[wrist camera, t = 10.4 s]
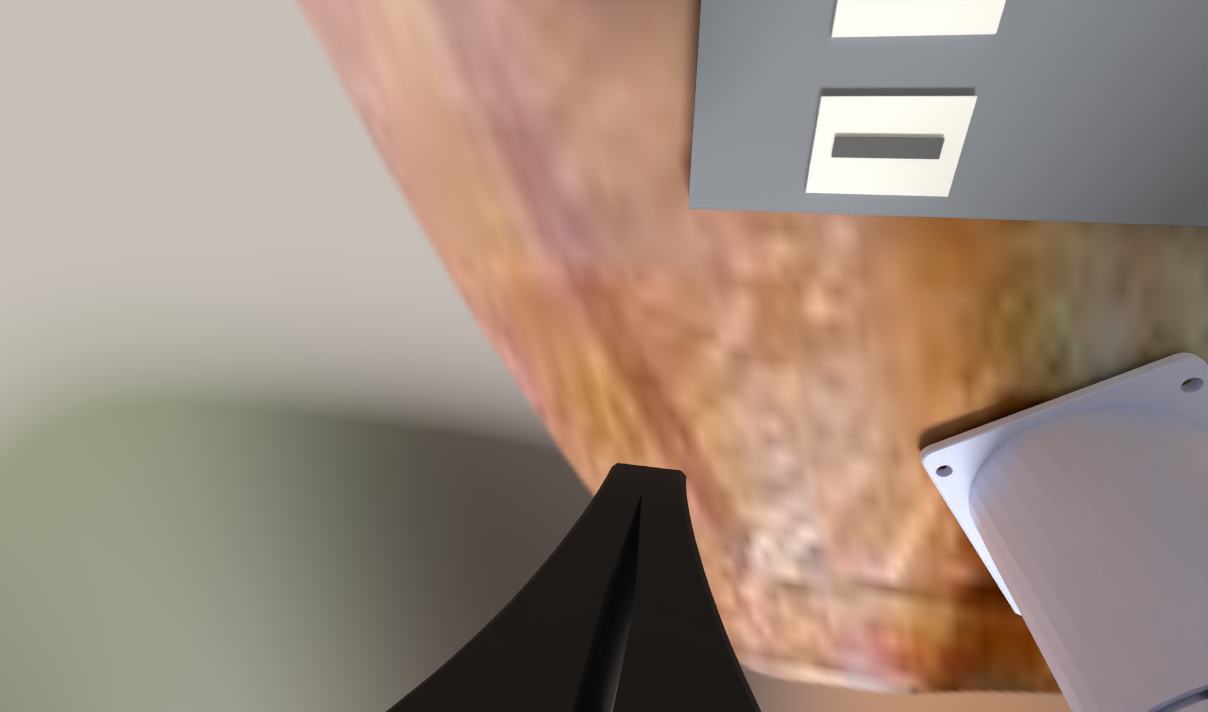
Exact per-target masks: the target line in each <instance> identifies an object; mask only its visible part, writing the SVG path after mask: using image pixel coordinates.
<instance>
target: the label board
mask: <svg viewBox="0 0 1208 712" xmlns="http://www.w3.org/2000/svg"><path fill="white" fill-rule="evenodd" d="M688 209H712V210H741V211H770V212H799V213H828V214H857V215H886V216H915V217H944V218H973V219H1002V220H1031V221H1060V222H1089V223H1118V224H1147V225H1176V226H1205V227H1208V0H701V13H700V29H699V44H698V60H697V76H696V92H695V108H694V124H693V139H692V155H691V171H690V187H689V203H688Z"/></svg>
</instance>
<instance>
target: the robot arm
mask: <svg viewBox="0 0 1208 712" xmlns="http://www.w3.org/2000/svg"><path fill="white" fill-rule="evenodd" d="M1190 378H1193V379H1192V380H1191V382H1189V383H1187V384H1186V385H1182V384H1183V382H1184V381H1186V380H1188V379H1190ZM919 457H920V460H921V462H922V464H923V466H924V468H925V470H926V471H927V473H928V474H929V476H930V478H931V479H932V481H933V482H934V484H935V485H936V487H937V489H938V490H939V492H940V493H941V495H942V497H943V498H944V500H945V501H946V503H947V505H948V506H949V508H950V509H951V511H952V513H953V514H954V516H955V517H956V519H957V521H958V522H959V524H960V525H961V527H962V529H963V530H964V532H965V533H966V535H967V537H968V538H969V540H970V541H971V543H972V545H973V546H974V548H975V549H976V551H977V553H978V554H979V556H980V557H981V559H982V561H983V562H984V564H985V565H986V567H987V569H988V570H989V572H990V573H991V575H992V577H993V578H994V580H995V581H996V583H997V584H998V586H999V588H1000V589H1001V591H1002V592H1003V594H1004V596H1005V597H1006V599H1007V600H1008V602H1009V604H1010V605H1011V607H1012V608H1013V610H1014V611H1015V612H1016V613H1017V614H1019V615H1021V616H1022V617H1023V619H1024V621H1025V623H1026V624H1027V626H1028V628H1029V630H1030V632H1031V634H1032V636H1033V638H1034V640H1035V641H1036V643H1037V645H1038V647H1039V649H1040V651H1041V653H1042V655H1043V657H1044V659H1045V660H1046V662H1047V664H1048V666H1049V668H1050V670H1051V672H1052V674H1053V676H1054V677H1055V679H1056V681H1057V683H1058V685H1059V687H1060V689H1061V691H1062V693H1063V694H1064V696H1065V698H1066V700H1067V702H1068V704H1069V706H1070V708H1071V710H1072V711H1073V712H1208V364H1207V363H1206V362H1205V361H1204V360H1203V359H1202V358H1200V357H1198V356H1197V355H1195V354H1192V353H1183V352H1182V353H1178V354H1174V355H1171V356H1168V357H1166V358H1163V359H1160V360H1158V361H1155V362H1152V363H1150V364H1147V365H1144V366H1141V367H1139V368H1136V369H1133V370H1131V371H1128V372H1125V373H1123V374H1120V375H1117V376H1115V377H1112V378H1109V379H1106V380H1104V381H1101V382H1098V383H1096V384H1093V385H1090V386H1088V387H1085V388H1082V389H1079V390H1077V391H1074V392H1071V393H1069V394H1066V395H1063V396H1061V397H1058V398H1055V399H1053V400H1050V401H1047V402H1044V403H1042V404H1039V405H1036V406H1034V407H1031V408H1028V409H1026V410H1023V411H1020V412H1018V413H1015V414H1012V415H1009V416H1007V417H1004V418H1001V419H999V420H996V421H993V422H991V423H988V424H985V425H982V426H980V427H977V428H974V429H972V430H969V431H966V432H964V433H961V434H958V435H956V436H953V437H950V438H947V439H945V440H942V441H939V442H937V443H934V444H931V445H929V446H927V447H925V448H924V449H923V450H922V451H921V452H920V456H919ZM944 465H947V467H946V468H944V469H940V470H939V469H937V468H939V467H940V466H944ZM623 658H624V659H623ZM622 662H623V664H622ZM621 666H622V669H621ZM620 670H621V674H620ZM619 674H620V679H619ZM618 679H619V684H618V689H617V694H616V699H615V704H614V709H613V712H761V710H760V708H759V706H758V704H757V702H756V700H755V697H754V695H753V693H752V691H751V689H750V687H749V684H748V682H747V680H746V678H745V676H744V674H743V671H742V669H741V667H740V664H739V662H738V660H737V657H736V655H735V653H734V650H733V648H732V646H731V643H730V641H729V638H728V636H727V633H726V631H725V628H724V626H723V623H722V621H721V618H720V615H719V613H718V610H717V607H716V604H715V601H714V599H713V596H712V593H711V590H710V587H709V584H708V581H707V578H706V575H705V572H704V568H703V565H702V561H701V558H700V554H699V551H698V547H697V544H696V540H695V536H694V532H693V528H692V523H691V518H690V514H689V508H688V502H687V494H686V476H685V475H684V473H683V472H682V471H680V470H672V469H663V468H655V467H647V466H638V465H630V464H621V463H617V464H615V465H614V466H613V467H612V468H611V469H610V471H609V473H608V475H607V477H606V479H605V480H604V482H603V484H602V485H601V487H600V489H599V490H598V492H597V493H596V495H595V496H594V498H593V500H592V501H591V502H590V504H589V505H588V507H587V508H586V510H585V511H584V513H583V514H582V515H581V517H580V518H579V519H578V521H577V522H576V523H575V525H574V526H573V527H572V529H571V530H570V531H569V533H568V534H567V535H566V537H565V538H564V539H563V541H562V542H561V543H560V545H559V546H558V547H557V549H556V550H555V551H554V552H553V553H552V554H551V556H550V557H549V558H548V559H547V560H546V562H545V563H544V564H543V565H542V566H541V567H540V569H539V570H538V571H537V572H536V573H535V575H534V576H533V577H532V578H531V579H530V580H529V582H528V583H527V584H526V585H525V586H524V587H523V588H522V589H521V590H520V591H519V592H518V594H517V595H516V596H515V597H514V598H513V599H512V600H511V601H510V602H509V603H508V604H507V605H506V606H505V607H504V608H503V609H502V610H501V611H500V612H499V613H498V614H497V615H496V616H495V617H494V618H493V619H492V620H491V621H490V622H489V623H488V624H487V625H486V626H485V627H484V628H483V629H482V630H481V631H480V632H479V633H478V634H477V635H476V636H475V637H474V638H472V639H471V640H470V641H469V642H468V643H467V644H466V645H465V646H464V647H463V648H462V649H461V650H459V651H458V652H457V653H456V654H455V655H454V656H453V657H452V658H451V659H449V660H448V661H447V662H446V663H445V664H444V665H443V666H441V667H440V668H439V669H438V670H437V671H436V672H435V673H434V674H432V675H431V676H430V677H429V678H427V679H426V680H425V681H424V682H422V683H421V684H420V685H419V686H417V687H416V688H415V689H414V690H412V691H411V692H410V693H409V694H407V695H406V696H405V697H404V698H402V699H401V700H400V701H399V702H397V703H396V704H395V705H394V706H392V708H390V709H389V710H388V711H386V712H611V708H612V703H613V699H614V695H615V691H616V687H617V683H618Z"/></svg>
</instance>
